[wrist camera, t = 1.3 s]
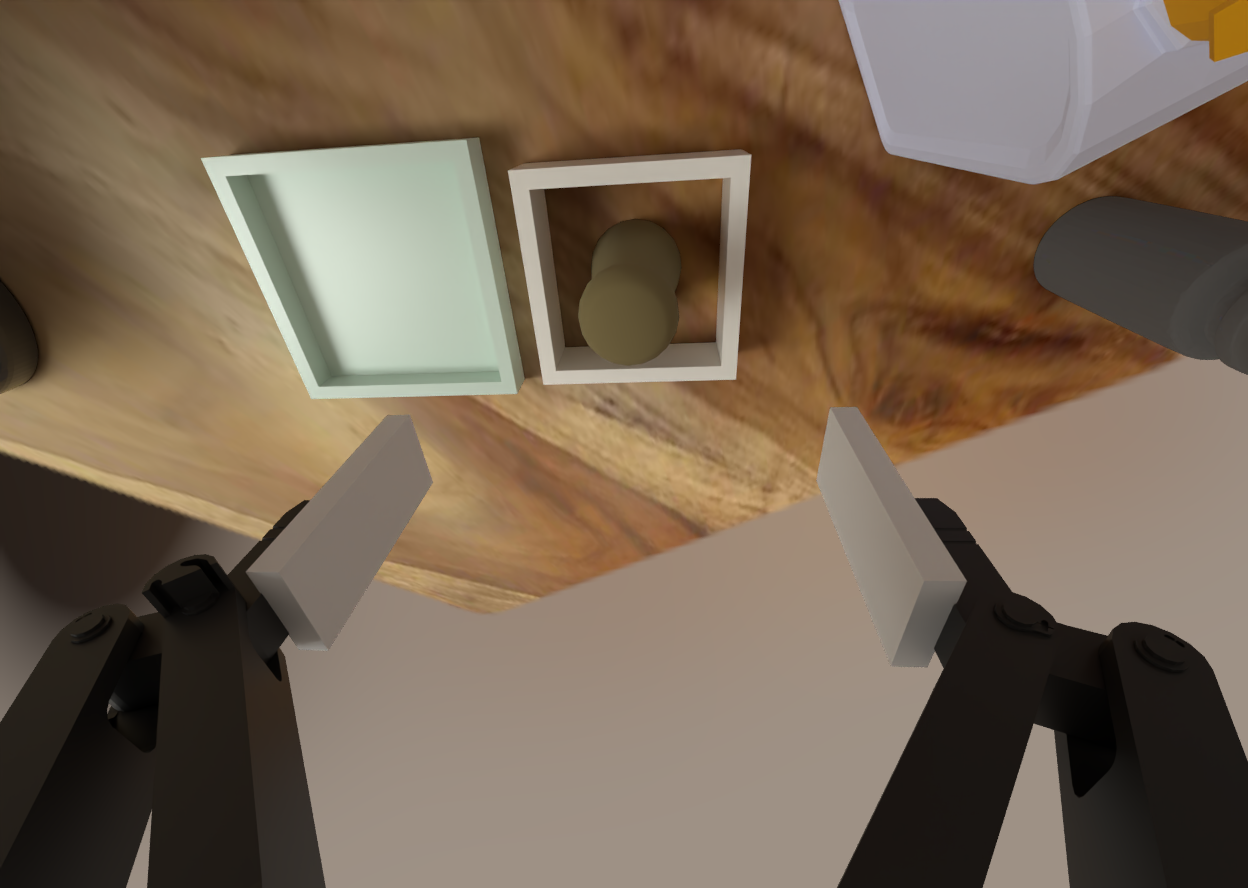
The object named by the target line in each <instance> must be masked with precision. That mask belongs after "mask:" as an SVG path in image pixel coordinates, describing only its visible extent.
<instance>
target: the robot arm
mask: <svg viewBox="0 0 1248 888" xmlns="http://www.w3.org/2000/svg"><path fill="white" fill-rule="evenodd" d="M37 362H38V350H37V344H36V340H35V336H34V333H33V331H32V328H31V326H30V324H29V322H28V320H27V318H26V316H25V314H24V313H23V311H22V309H21V308H20V306H19V305H18V303H17V302H16V300H15V299H14V297H13V296H12V295H11V294H10V292H9V291H8V290H7V288H6V287H5V286H4V285H3V284H2V283H1V281H0V394H1V393H4V392H6V391H8V390H11V389H13V388H15V387H18V386H20V385H22V384H24V383H25V382H26V381H28V380H29V379H30V378H31V376H32V375H33V373H34V372H35V369H36V366H37ZM816 481H817V483H818V486H819V488H820V491H821V493H822V496H823V498H824V501H825V503H826V505H827V508H828V511H829V513H830V516H831V518H832V521H833V523H834V526H835V528H836V531H837V533H838V536H839V538H840V541H841V543H842V546H843V548H844V551H845V553H846V556H847V558H848V561H849V563H850V566H851V568H852V571H853V573H854V576H855V578H856V581H857V583H858V586H859V588H860V591H861V593H862V596H863V598H864V601H865V603H866V606H867V608H868V611H869V613H870V616H871V618H872V621H873V623H874V626H875V628H876V631H877V633H878V636H879V638H880V641H881V643H882V646H883V648H884V651H885V653H886V656H887V658H888V661H889V663H890V666H899V667H928V665H929V662H930V660H931V658H932V656H933V654H934V652H936V653H937V655H938V657H939V660H940V662H941V664H942V666H943V668H944V669H943V671H942V673H941V676H940V677H939V679H938V681H937V683H936V685H935V688H934V689H933V691H932V694H931V695H930V698H929V700H928V702H927V704H926V706H925V708H924V710H923V712H922V714H921V716H920V718H919V720H918V722H917V724H916V727H915V729H914V731H913V733H912V735H911V737H910V739H909V741H908V743H907V745H906V747H905V749H904V751H903V753H902V755H901V757H900V759H899V761H898V764H897V765H896V768H895V770H894V772H893V774H892V776H891V778H890V780H889V782H888V784H887V786H886V788H885V790H884V792H883V794H882V796H881V798H880V801H879V802H878V804H877V807H876V809H875V811H874V813H873V815H872V817H871V819H870V821H869V823H868V825H867V827H866V829H865V831H864V834H863V835H862V837H861V839H860V841H859V844H858V846H857V848H856V850H855V852H854V854H853V856H852V858H851V860H850V862H849V864H848V866H847V868H846V870H845V872H844V875H843V876H842V878H841V881H840V882H839V884H838V887H837V888H983V884H984V881H985V878H986V875H987V871H988V868H989V865H990V862H991V859H992V855H993V852H994V849H995V846H996V842H997V839H998V836H999V833H1000V830H1001V826H1002V823H1003V820H1004V817H1005V814H1006V810H1007V807H1008V804H1009V800H1010V797H1011V794H1012V791H1013V788H1014V785H1015V781H1016V778H1017V775H1018V772H1019V769H1020V765H1021V762H1022V758H1023V756H1024V752H1025V749H1026V746H1027V743H1028V739H1029V736H1030V733H1031V730H1032V726H1033V723H1034V724H1037V725H1040V726H1043V727H1047V728H1050V729H1053V730H1054V733H1055V743H1056V753H1057V763H1058V773H1059V783H1060V793H1061V803H1062V813H1063V823H1064V834H1065V843H1066V852H1067V864H1068V874H1069V883H1070V888H1248V761H1247V758H1246V756H1245V753H1244V750H1243V748H1242V745H1241V742H1240V740H1239V737H1238V735H1237V732H1236V729H1235V727H1234V724H1233V721H1232V719H1231V716H1230V713H1229V711H1228V708H1227V706H1226V703H1225V700H1224V698H1223V695H1222V692H1221V690H1220V687H1219V685H1218V682H1217V679H1216V677H1215V674H1214V671H1213V669H1212V668H1211V666H1210V665H1209V663H1208V662H1207V660H1206V659H1205V657H1204V656H1203V655H1202V654H1201V653H1199V652H1198V651H1197V650H1196V649H1195V648H1194V647H1193V646H1192V645H1190V644H1189V643H1187V642H1185V641H1184V640H1182V639H1181V638H1179V637H1177V636H1176V635H1174V634H1172V633H1170V632H1168V631H1165V630H1162V629H1160V628H1158V627H1155V626H1153V625H1148V624H1143V623H1138V622H1128V623H1121V624H1119V625H1118V626H1117V627H1115V628H1114V629H1113V630H1112V631H1111V632H1110V634H1109V635H1108V636H1106V635H1102V634H1098V633H1094V632H1090V631H1086V630H1082V629H1079V628H1075V627H1071V626H1067V625H1063V624H1060V623H1057V622H1056V621H1055V619H1054V618H1053V616H1052V615H1051V614H1050V613H1049V612H1047V611H1046V610H1045V609H1044V608H1043V607H1042V606H1041V605H1039V604H1037V603H1036V602H1034V601H1032V600H1030V599H1029V598H1027V597H1025V596H1021V595H1019V594H1016V593H1013V592H1012V591H1011V590H1010V588H1009V587H1008V585H1007V584H1006V583H1005V581H1004V580H1003V579H1002V577H1001V576H1000V574H999V573H998V571H997V570H996V569H995V567H994V566H993V564H992V563H991V562H990V560H989V559H988V557H987V556H986V555H985V553H984V552H983V550H982V549H981V548H980V546H979V545H978V544H976V541H975V539H974V538H973V536H972V535H971V533H970V532H969V531H967V528H966V527H965V525H964V524H963V522H962V521H961V519H960V518H959V517H958V515H957V514H956V512H954V511H953V510H952V509H950V508H949V507H948V506H946V505H945V504H944V503H942V502H941V501H940V500H938V499H937V498H914V497H913V495H912V493H911V492H910V490H909V489H908V487H907V486H906V484H905V482H904V481H903V479H902V478H901V476H900V474H899V473H898V471H897V470H896V468H895V467H894V465H893V463H892V462H891V460H890V459H889V457H888V455H887V454H886V452H885V451H884V449H883V448H882V446H881V444H880V443H879V441H878V440H877V438H876V436H875V435H874V433H873V432H872V430H871V429H870V427H869V425H868V424H867V422H866V421H865V419H864V417H863V416H862V414H861V413H860V411H859V410H858V408H857V407H830V411H829V417H828V422H827V427H826V432H825V438H824V443H823V448H822V454H821V459H820V464H819V469H818V475H817V480H816ZM432 483H433V481H432V478H431V475H430V472H429V469H428V466H427V463H426V460H425V458H424V455H423V452H422V449H421V446H420V443H419V440H418V437H417V434H416V431H415V428H414V425H413V422H412V419H411V417H410V415H387V416H386V417H385V418H384V419H383V421H382V422H381V423H380V424H379V425H378V426H377V427H376V428H375V429H374V431H373V432H372V433H371V434H370V435H369V436H368V437H367V438H366V439H365V440H364V442H363V443H362V444H361V445H360V446H359V447H358V448H357V449H356V450H355V452H354V453H353V454H352V455H351V456H350V457H349V458H348V459H347V460H346V461H345V463H344V464H343V465H342V466H341V467H340V468H339V469H338V470H337V471H336V473H335V474H334V475H333V476H332V477H331V478H330V479H329V480H328V481H327V482H326V484H325V485H324V486H323V487H322V488H321V489H320V490H319V491H318V492H317V494H316V495H315V496H314V497H313V498H312V499H311V500H304V501H303V502H301V503H300V504H298V505H297V506H295V507H294V508H292V509H291V510H289V511H288V512H286V513H285V514H284V515H283V516H282V517H281V519H280V520H279V521H278V522H277V523H276V524H275V525H274V526H273V529H270V530H269V531H268V532H267V534H266V535H265V536H264V537H263V538H262V541H259V542H258V543H257V544H256V545H255V546H254V547H253V548H252V550H251V551H250V552H249V553H248V554H247V555H246V556H245V557H244V558H243V559H242V560H241V561H240V562H239V564H237V566H236V567H235V568H234V569H233V570H232V571H231V572H230V573H229V574H228V575H226V573H225V572H224V570H223V569H222V567H221V566H220V565H219V564H218V562H217V561H216V559H215V558H214V557H213V556H209V555H206V554H204V555H194V556H190V557H187V558H184V559H180V560H178V561H176V562H174V563H172V564H170V565H168V566H167V567H165V568H163V569H162V570H160V571H159V572H158V573H156V574H155V575H154V576H153V577H152V578H151V579H150V580H149V581H148V582H147V583H146V584H145V586H144V589H143V591H142V594H143V595H144V596H145V597H146V598H147V599H148V600H149V601H150V603H151V604H152V605H153V606H154V607H155V608H156V609H157V611H158V612H157V613H153V614H148V615H144V616H140V617H136V615H135V614H134V613H133V612H132V611H131V610H130V609H129V608H128V607H127V606H126V605H123V604H111V605H106V606H102V607H100V608H97V609H94V610H92V611H89V612H87V613H85V614H83V615H82V616H79V617H78V618H76V619H75V620H73V621H72V622H71V623H70V624H68V625H67V626H66V627H65V628H63V629H62V630H61V631H60V632H59V633H58V634H57V636H56V637H55V638H54V639H53V640H52V642H51V644H50V645H49V647H48V648H47V650H46V651H45V653H44V655H43V656H42V658H41V659H40V661H39V662H38V664H37V666H36V667H35V669H34V670H33V672H32V674H31V675H30V677H29V678H28V680H27V681H26V683H25V684H24V686H23V688H22V689H21V691H20V692H19V694H18V696H17V697H16V699H15V700H14V702H13V703H12V705H11V707H10V708H9V710H8V711H7V713H6V714H5V716H4V718H3V719H2V721H1V722H0V888H126V885H127V882H128V879H129V876H130V873H131V870H132V867H133V864H134V861H135V858H136V855H137V852H138V849H139V846H140V843H141V840H142V837H143V834H144V831H145V828H146V825H147V822H148V819H149V816H150V813H151V810H152V820H151V836H150V852H149V867H148V868H149V869H148V883H147V888H326V887H325V881H324V876H323V870H322V864H321V858H320V853H319V847H318V841H317V836H316V830H315V824H314V819H313V813H312V807H311V802H310V796H309V790H308V785H307V779H306V773H305V768H304V762H303V756H302V750H301V745H300V739H299V734H298V728H297V723H296V716H295V711H294V706H293V699H292V694H291V688H290V683H289V677H288V671H287V665H286V660H285V656H284V654H283V653H282V651H281V649H280V648H279V647H280V646H281V644H282V643H283V642H284V640H285V639H286V637H287V636H288V635H289V636H290V637H291V639H292V640H293V642H294V643H295V645H296V646H297V647H298V649H299V650H327V651H328V650H329V649H330V647H331V646H332V644H333V642H334V641H335V639H336V637H337V636H338V634H339V633H340V631H341V629H342V628H343V626H344V625H345V623H346V621H347V620H348V618H349V617H350V615H351V613H352V612H353V610H354V609H355V607H356V605H357V603H358V602H359V600H360V599H361V597H362V596H363V594H364V592H365V591H366V589H367V588H368V586H369V584H370V583H371V581H372V580H373V578H374V576H375V575H376V573H377V572H378V570H379V568H380V567H381V565H382V563H383V562H384V560H385V559H386V557H387V555H388V554H389V552H390V551H391V549H392V547H393V546H394V544H395V543H396V541H397V539H398V538H399V536H400V535H401V533H402V531H403V530H404V528H405V526H406V525H407V523H408V522H409V520H410V518H411V517H412V515H413V514H414V512H415V510H416V509H417V507H418V506H419V504H420V502H421V501H422V499H423V498H424V496H425V494H426V493H427V491H428V490H429V488H430V486H431V485H432ZM108 704H110V705H111V708H110V710H109V712H108V714H107V708H108Z"/></svg>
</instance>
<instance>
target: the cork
mask: <svg viewBox="0 0 1248 888" xmlns="http://www.w3.org/2000/svg"><path fill="white" fill-rule="evenodd" d="M680 272H681V259H680V252H679V250H678V248H677V246H676V243H675V241H674V239H673V238H672V237H671V236H670V235H669V234H668V233H667V232H666V230H665V229H664V228H662V227H660V226H658V225H656V224H655V223H653V222H651V221H645V220H639V219H633V220H627V221H622V222H620V223H618V224H616V225H614V226H612V227H611V228H609V229H608V230H607V231H606V232H605V233H604V234H603V235H602V237H601V238H600V239H599V240H598V242H597V245H596V247H595V249H594V251H593V255H592V265H591V273H592V279H591V281H590V282H589V283H588V284H587V286H586V288H585V290H584V292H583V295H582V297H581V299H580V301H579V312H578V319H579V323H580V327H581V332H582V335H583V337H584V338H585V340H586V342H587V343H588V345H589V347H590V348H591V349H592V350H593V351H594V352H596V353H597V354H598V355H599V356H600V357H601V358H603V359H606V360H608V361H610V362H612V363H614V364H620V365H627V366H630V365H638V364H643V363H646V362H648V361H650V360H652V359H654V358H656V357H657V356H658V355H660V354H661V353H662V352H663V351H664V350H665V349H666V348H667V347H668V345H669V344H670V342H671V340H672V339H673V337H674V335H675V333H676V330H677V326H678V321H679V311H678V303H677V297H676V295H675V290H676V287H677V285H678V282H679V277H680Z"/></svg>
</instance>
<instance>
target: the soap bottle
mask: <svg viewBox="0 0 1248 888" xmlns="http://www.w3.org/2000/svg"><path fill="white" fill-rule="evenodd" d="M839 4H840V7H841V10H842V13H843V17H844V20H845V23H846V26H847V30H848V33H849V36H850V40H851V43H852V46H853V49H854V53H855V56H856V59H857V62H858V66H859V69H860V72H861V75H862V79H863V82H864V85H865V88H866V92H867V95H868V98H869V102H870V105H871V108H872V111H873V115H874V118H875V121H876V124H877V128H878V131H879V134H880V137H881V141H882V143H883V146H884V148H885V150H886V151H887V152H888V153H889V154H892V155H897V156H901V157H906V158H911V159H915V160H920V161H925V162H929V163H934V164H938V165H943V166H948V167H952V168H957V169H962V170H966V171H971V172H976V173H980V174H985V175H990V176H994V177H999V178H1004V179H1008V180H1013V181H1018V182H1022V183H1027V184H1039V183H1044V182H1049V181H1053V180H1058V179H1060V178H1062V177H1063V176H1065V175H1067V174H1069V173H1071V172H1073V171H1075V170H1077V169H1079V168H1081V167H1083V166H1085V165H1087V164H1089V163H1090V162H1092V161H1094V160H1096V159H1098V158H1100V157H1102V156H1104V155H1106V154H1108V153H1110V152H1112V151H1114V150H1116V149H1117V148H1119V147H1121V146H1123V145H1125V144H1127V143H1129V142H1131V141H1133V140H1135V139H1137V138H1139V137H1141V136H1143V135H1144V134H1146V133H1148V132H1150V131H1152V130H1154V129H1156V128H1158V127H1160V126H1162V125H1164V124H1166V123H1168V122H1170V121H1171V120H1173V119H1175V118H1177V117H1179V116H1181V115H1183V114H1185V113H1187V112H1189V111H1191V110H1193V109H1195V108H1197V107H1198V106H1200V105H1202V104H1204V103H1206V102H1208V101H1210V100H1212V99H1214V98H1216V97H1218V96H1220V95H1222V94H1224V93H1225V92H1227V91H1229V90H1231V89H1233V88H1235V87H1237V86H1239V85H1241V84H1243V83H1245V82H1247V81H1248V0H839Z"/></svg>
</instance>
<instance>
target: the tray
mask: <svg viewBox="0 0 1248 888" xmlns="http://www.w3.org/2000/svg"><path fill="white" fill-rule="evenodd" d="M201 160H202V162H203V164H204V166H205V168H206V171H207V173H208V175H209V177H210V179H211V181H212V184H213V186H214V188H215V190H216V192H217V194H218V197H219V199H220V201H221V203H222V205H223V208H224V210H225V212H226V214H227V216H228V218H229V221H230V223H231V225H232V227H233V229H234V231H235V234H236V236H237V238H238V240H239V242H240V245H241V247H242V249H243V251H244V253H245V255H246V258H247V260H248V262H249V264H250V266H251V269H252V271H253V273H254V275H255V277H256V279H257V282H258V284H259V286H260V288H261V290H262V292H263V295H264V297H265V299H266V301H267V303H268V306H269V308H270V310H271V312H272V314H273V316H274V319H275V321H276V323H277V325H278V327H279V329H280V332H281V334H282V336H283V338H284V340H285V343H286V345H287V347H288V349H289V351H290V353H291V356H292V358H293V360H294V362H295V364H296V367H297V369H298V371H299V373H300V375H301V377H302V380H303V382H304V384H305V386H306V388H307V390H308V393H309V395H310V397H311V399H333V398H373V397H412V396H452V395H491V394H518V392H519V390H520V388H521V386H522V384H523V382H524V380H525V378H524V373H523V367H522V362H521V357H520V351H519V346H518V341H517V336H516V330H515V325H514V320H513V314H512V309H511V304H510V298H509V293H508V288H507V282H506V277H505V272H504V267H503V261H502V256H501V251H500V245H499V240H498V235H497V229H496V224H495V219H494V213H493V208H492V203H491V198H490V192H489V187H488V182H487V176H486V171H485V166H484V160H483V155H482V150H481V144H480V139H479V137H478V138H463V139H449V140H435V141H421V142H406V143H392V144H378V145H363V146H349V147H335V148H320V149H306V150H292V151H278V152H263V153H249V154H235V155H224V156H216V157H207V158H201Z"/></svg>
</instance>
